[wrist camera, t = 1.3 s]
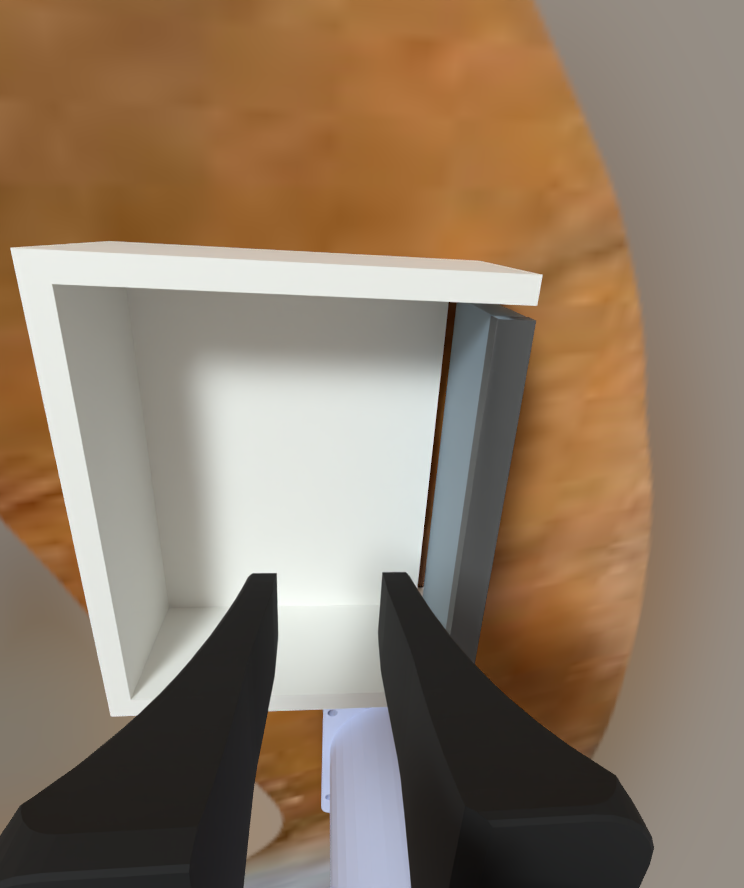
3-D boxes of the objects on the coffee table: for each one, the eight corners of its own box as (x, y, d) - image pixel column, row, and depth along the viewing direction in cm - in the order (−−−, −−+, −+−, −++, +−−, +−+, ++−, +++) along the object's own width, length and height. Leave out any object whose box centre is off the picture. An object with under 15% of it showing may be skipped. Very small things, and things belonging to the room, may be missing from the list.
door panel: (444, 597, 24) (471, 682, 19) (421, 597, 23) (443, 682, 19) (485, 298, 18) (536, 320, 14) (456, 296, 18) (497, 319, 14)
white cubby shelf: (435, 600, 25) (466, 704, 20) (160, 603, 24) (110, 716, 18) (479, 260, 19) (542, 274, 13) (109, 241, 18) (10, 247, 12)
